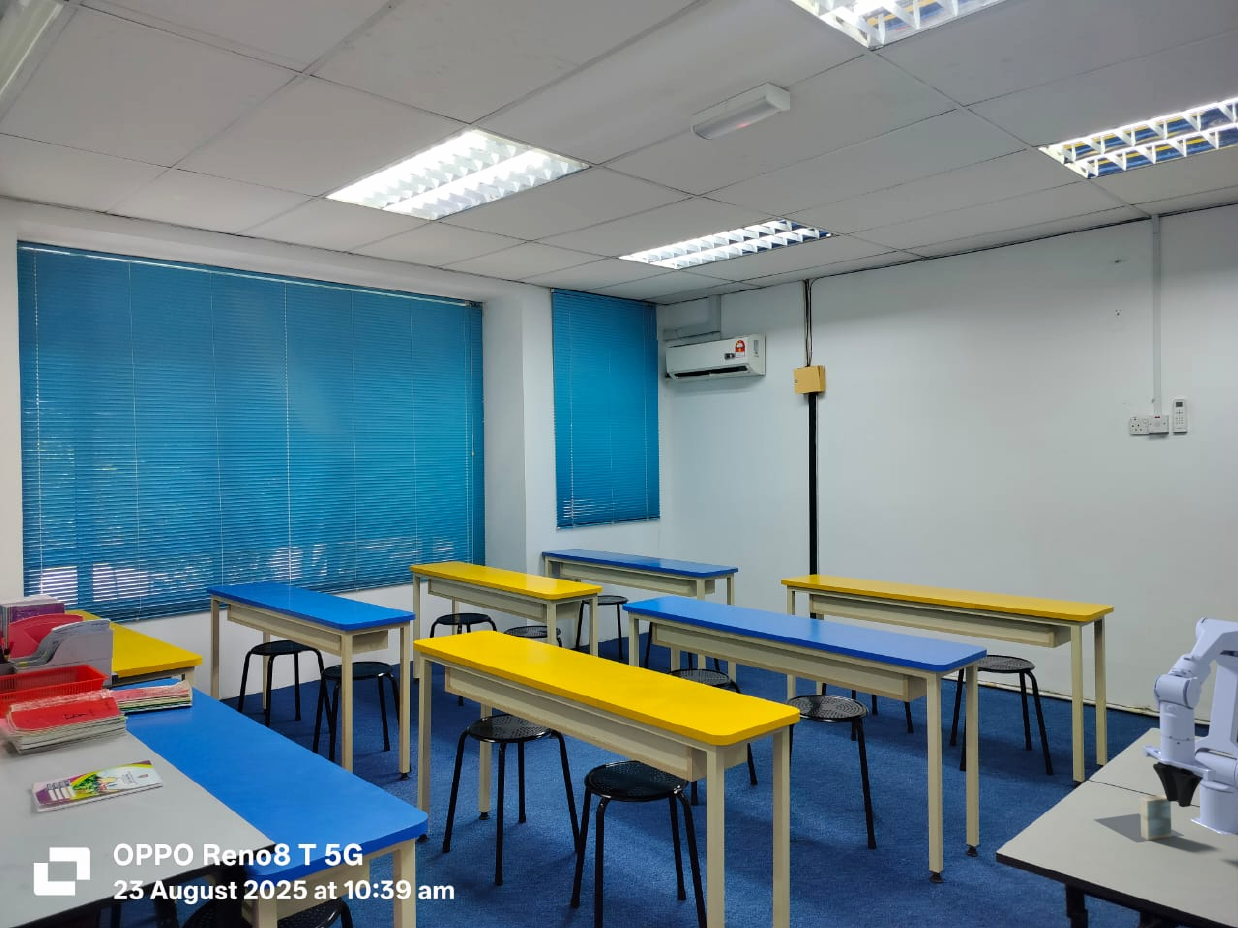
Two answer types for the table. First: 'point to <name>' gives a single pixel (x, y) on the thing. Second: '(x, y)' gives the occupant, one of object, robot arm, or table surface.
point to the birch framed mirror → (1155, 817)
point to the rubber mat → (1129, 826)
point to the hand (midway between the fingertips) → (1178, 803)
